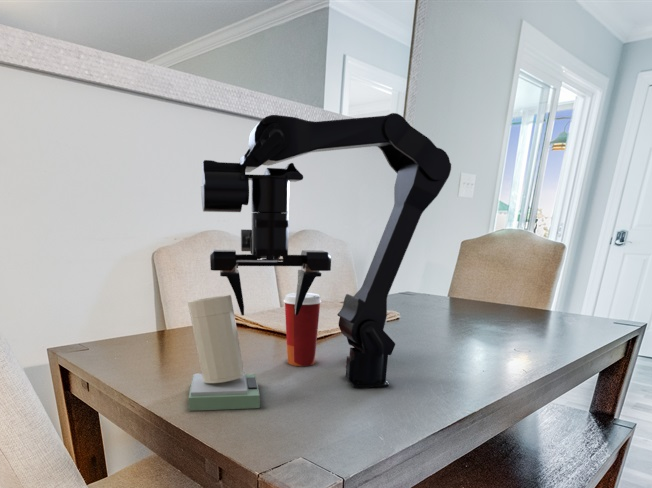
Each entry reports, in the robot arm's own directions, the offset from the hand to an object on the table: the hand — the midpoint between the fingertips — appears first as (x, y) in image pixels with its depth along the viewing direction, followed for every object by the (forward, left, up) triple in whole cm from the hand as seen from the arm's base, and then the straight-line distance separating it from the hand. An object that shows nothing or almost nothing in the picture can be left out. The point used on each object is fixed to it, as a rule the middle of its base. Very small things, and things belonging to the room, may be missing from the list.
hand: (269, 314), depth 76 cm
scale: (+8, +3, -13) cm, 16 cm away
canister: (+8, +3, -10) cm, 13 cm away
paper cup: (-8, -16, -13) cm, 22 cm away
